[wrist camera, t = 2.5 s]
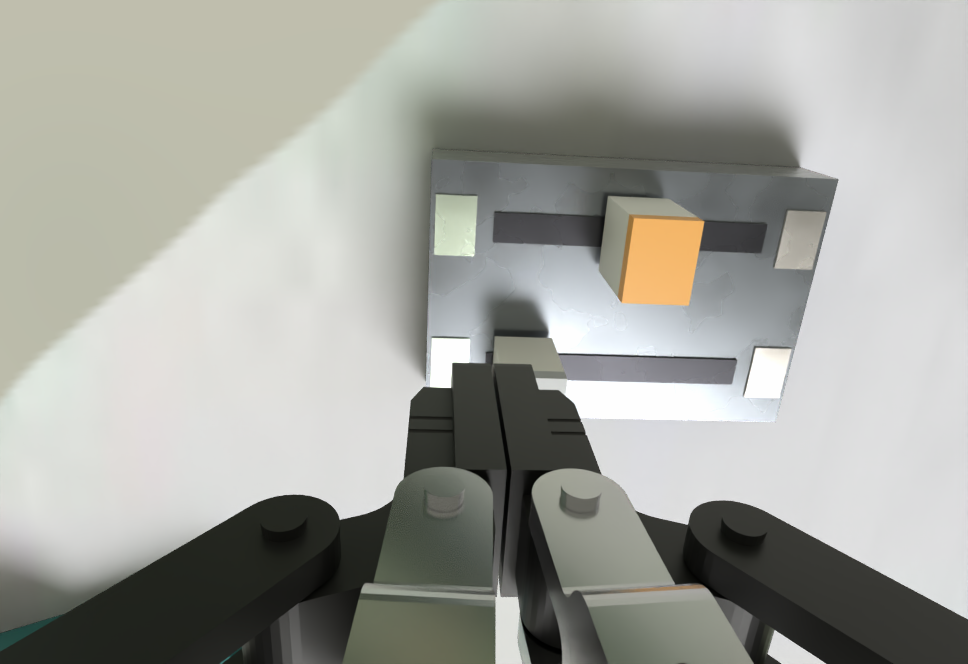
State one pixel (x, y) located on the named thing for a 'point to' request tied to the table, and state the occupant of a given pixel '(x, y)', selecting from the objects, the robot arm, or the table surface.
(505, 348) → the block
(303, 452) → the table surface
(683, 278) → the block
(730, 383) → the panel
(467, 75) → the table surface
